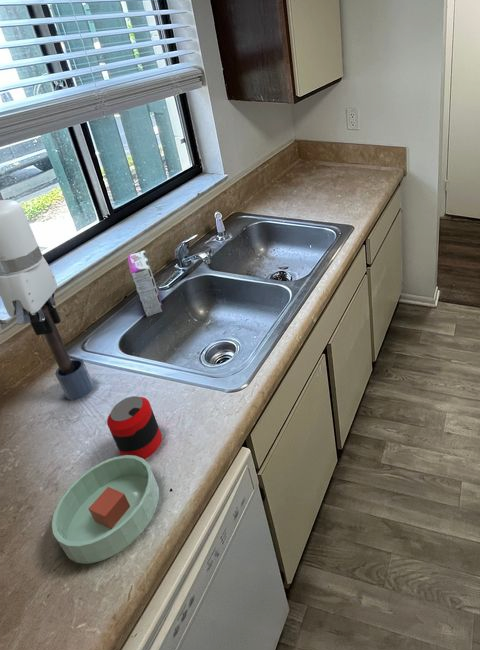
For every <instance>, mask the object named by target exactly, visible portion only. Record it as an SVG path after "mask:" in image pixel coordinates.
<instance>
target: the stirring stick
mask: <svg viewBox="0 0 480 650" xmlns="http://www.w3.org/2000/svg"><path fill="white" fill-rule="evenodd" d="M41 308H42V311H43V313H44V316H45V318H46V317H48V319H49V321H50V323H51V326H52V328H53V332H52V333H51V334H43V335H44V337H45V340H46V343H47V344H48V346H49V349H50V351H51V353H52V355H53V358H54V360H55V361H56V364H57V366H58V368H60V371H61V373H63V374H65V373H68V372H70V371H72V370H73V368H74V366H73V364H72V362H71V360H72V359H71V357H70V355H69V352H68V350H67V348H66V346H65V343H64V341H63V339H62V337H61V335H60V331H59V329H58V327H57V324H55V323H54V321H53V318H52V316H51V314H50V311H49V309H48V307H47V306H46V305H43V306H42V307H41ZM34 315H37V314H36V313H35V314H34Z"/></svg>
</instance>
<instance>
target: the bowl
mask: <svg viewBox="0 0 480 650" xmlns="http://www.w3.org/2000/svg"><path fill="white" fill-rule="evenodd" d="M107 487H110V488H112V489H115V490H117V491H119V492H121V493H124V494H125V496H126V498H127V500H128V503H129V505H130V508H129V509H128V510H127V511H126V512H125V514H124V515H123V516H122V517H121V518H120V520H119V521H118V522H117V523H116V524H115V526H114V527H113V528H112V529H110V528H108V527H106V526H103V525H101V524H99V523H97V522H95V520H94V519H93V517H92V515H91V513H90V511H89V509H88V508H89V507H90V506H91V505H92V504H93V503H94V502H95V501H96V500H97V499H98V497H99V496H100V495H101V494H102V493H103V492H104V491H105V490H106V489H107ZM159 500H160V488H159V485H158V483H157V480H156V477H155V475H154V472H153V471H152V468H151V465H150V464H149V462H148V461H147V460H146V459H145V460H144V459H143V458H140V457H138V456H135V455H123V456H121V455H118V456H114V457H111V458H109V459H106V460H103V461H101V462H99V463H98V464H95V465H94V466H92V467H90V468H89V469H88V470H87V471H85V472H84V473H83V474H81V475H80V476H78V478H77V479H76V480H75V481H74V482H73V483H72V484H70V486H69V487H68V488H67V489H66V491H65V493H63V495H62V496H61V498H60V499H59V501H58V503H57V504H56V507H55V509H54V512H53V516H52V520H51V530H52V535H53V537H54V538H55V539H56V541H57V542H58V544H59V546H60V547H61V549H62V551H63V552H64V553H65V555H66V557H67V558H68V559H69V560H70V561H73V562H74V563H77V564H83V565H84V564H87V565H88V564H95V563H99V562H102V561H105V560H107V559H110V558H111V557H114V556H115V555H117V554H118V553H121V552H122V551H123V550H125V549H126V548H127V547H128V546H129V545H131V544H132V543H133V542H134V541H135V540H136V539H137V538H138V537H139V536H140V535H141V534H142V533H143V532H144V531H145V529H146V528H147V526H148V525H149V524H150V523H151V521H152V518H153V517H154V514H155V512H156V510H157V507H158V503H159Z"/></svg>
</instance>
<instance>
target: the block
mask: <svg viewBox="0 0 480 650" xmlns="http://www.w3.org/2000/svg"><path fill="white" fill-rule="evenodd" d="M129 508H130V505H129V503H128V500H127V498H126V496H125V494H124V493H121V492H119V491H117V490H115V489H112V488H110V487H107V489H106V490H105V491H104V492H103V493H102V494H101V495H100V496H99V497H98V499H97V500H96V501H95V502H94V503H93V504H92V505H91V506H90V507H89V508H88V509H89V511H90V513H91V515H92V517H93V519H94V520H95V522H97V523H99V524H101V525H103V526H106V527H108V528H110V529H112V528H113V527H114V526H115V524H116V523H117V522H118V521H119V520H120V518H121V517H122V516H123V515H124V514H125V512H126V511H127V510H128V509H129Z"/></svg>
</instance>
